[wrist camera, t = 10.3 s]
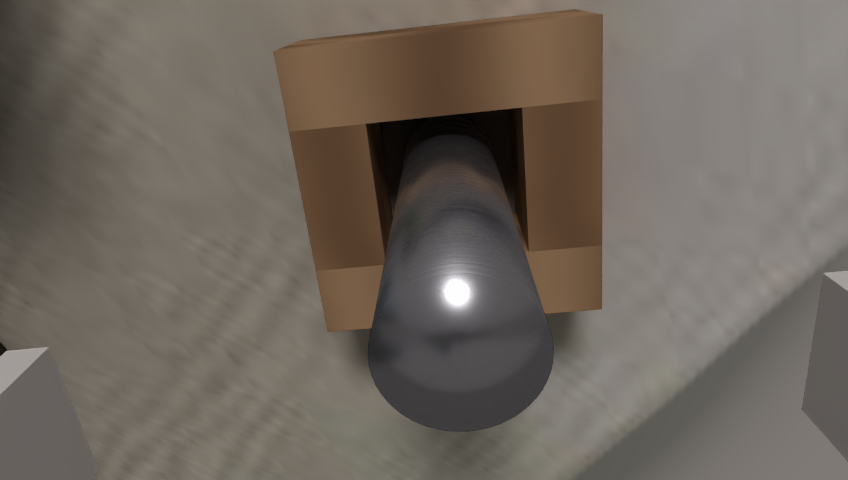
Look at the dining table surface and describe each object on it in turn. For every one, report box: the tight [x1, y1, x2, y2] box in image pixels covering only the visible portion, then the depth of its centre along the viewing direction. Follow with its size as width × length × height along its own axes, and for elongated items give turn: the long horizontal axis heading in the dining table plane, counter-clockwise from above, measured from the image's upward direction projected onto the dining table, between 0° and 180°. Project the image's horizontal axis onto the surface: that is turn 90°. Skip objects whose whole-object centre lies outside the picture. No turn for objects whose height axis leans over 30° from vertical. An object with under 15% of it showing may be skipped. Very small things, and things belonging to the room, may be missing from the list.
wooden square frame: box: [274, 9, 603, 332], centre depth 22 cm, size 10×10×4 cm
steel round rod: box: [368, 115, 554, 432], centre depth 18 cm, size 3×3×14 cm
